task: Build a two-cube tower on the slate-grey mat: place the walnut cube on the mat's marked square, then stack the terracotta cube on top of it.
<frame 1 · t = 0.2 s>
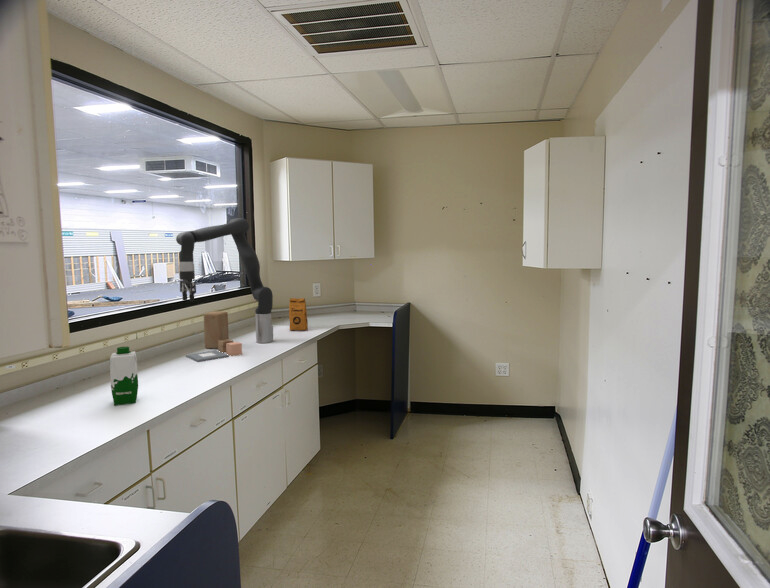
hand: (188, 300, 259), 28 cm above the worktop, tool pointing down, fingers open, 8 cm apart
milk carton: (125, 402, 181), on the worktop
slate mat: (207, 356, 253), on the worktop
terracotta cube: (234, 354, 259), on the worktop
wooden block: (217, 347, 277), on the worktop
walnut cube: (226, 351, 266), on the worktop
coffee package: (298, 330, 331), on the worktop
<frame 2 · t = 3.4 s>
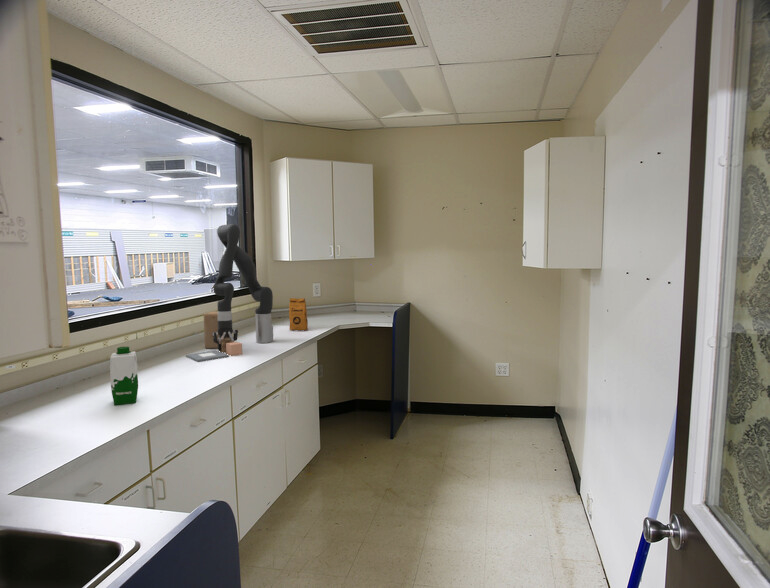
hand: (225, 349, 266), 1 cm above the worktop, tool pointing down, fingers closed on walnut cube, 6 cm apart
walnut cube: (226, 351, 266), on the worktop, touching gripper
everything else where it was.
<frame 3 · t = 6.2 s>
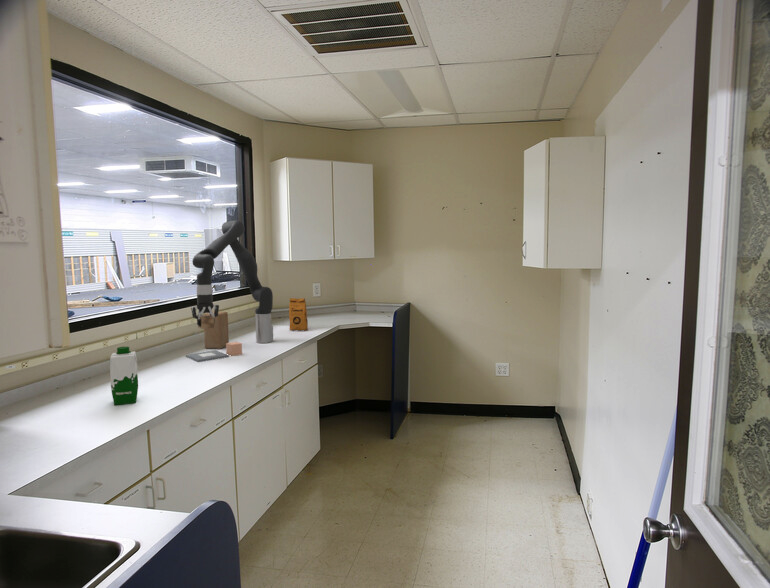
hand: (205, 325, 252), 16 cm above the worktop, tool pointing down, fingers closed on walnut cube, 6 cm apart
walnut cube: (206, 327, 252), point 15 cm above the worktop, touching gripper
everything else where it was.
when the fingers open (3 cm above the worktop, at t = 9.0 s): walnut cube stays where it is, resting on slate mat.
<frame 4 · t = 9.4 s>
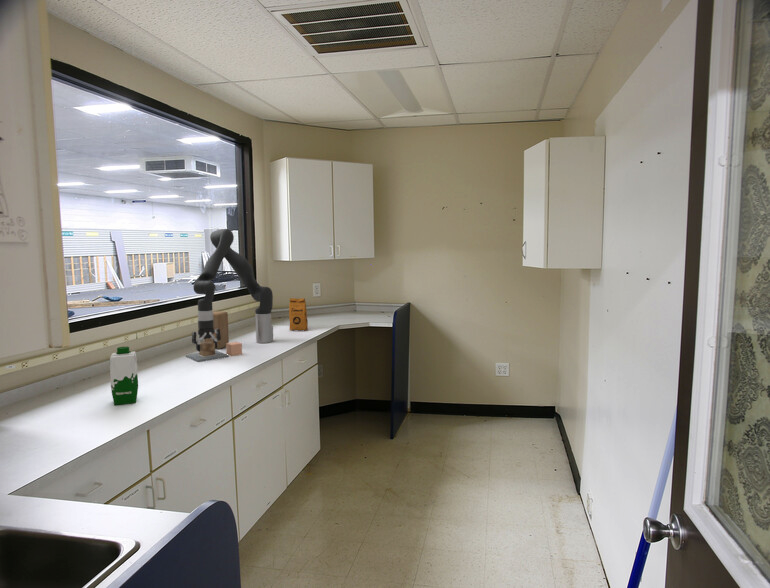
hand: (206, 349, 253), 4 cm above the worktop, tool pointing down, fingers open, 8 cm apart
walnut cube: (207, 354, 253), point 1 cm above the worktop, touching slate mat
everything else where it was.
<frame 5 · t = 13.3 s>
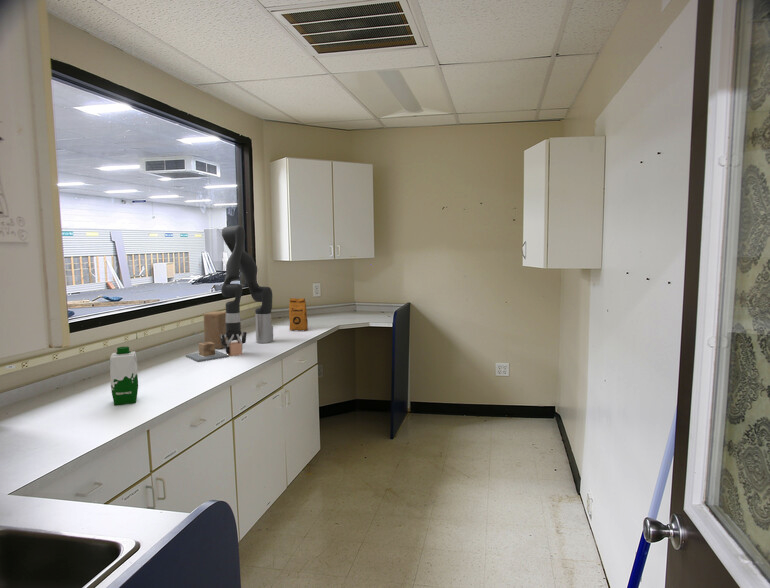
hand: (234, 352, 259), 1 cm above the worktop, tool pointing down, fingers closed on terracotta cube, 6 cm apart
terracotta cube: (234, 354, 259), on the worktop, touching gripper
everything else where it was.
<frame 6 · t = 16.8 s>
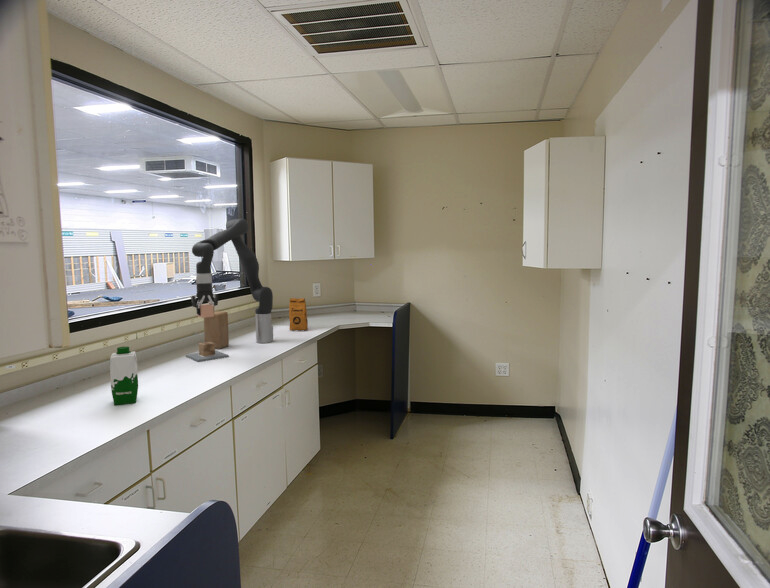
hand: (205, 314, 251), 22 cm above the worktop, tool pointing down, fingers closed on terracotta cube, 6 cm apart
terracotta cube: (205, 316, 251), point 21 cm above the worktop, touching gripper
everything else where it was.
when the fingers open (9 cm above the worktop, at t = 20.2 s): terracotta cube stays where it is, resting on walnut cube.
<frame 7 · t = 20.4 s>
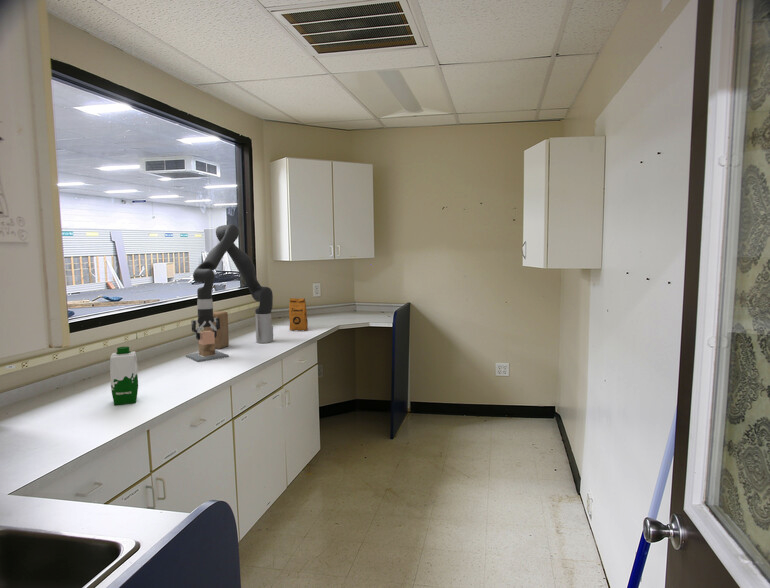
hand: (206, 338, 252), 10 cm above the worktop, tool pointing down, fingers open, 8 cm apart
terracotta cube: (206, 343, 253), point 7 cm above the worktop, touching walnut cube
walnut cube: (207, 354, 253), point 1 cm above the worktop, touching slate mat, terracotta cube
everything else where it was.
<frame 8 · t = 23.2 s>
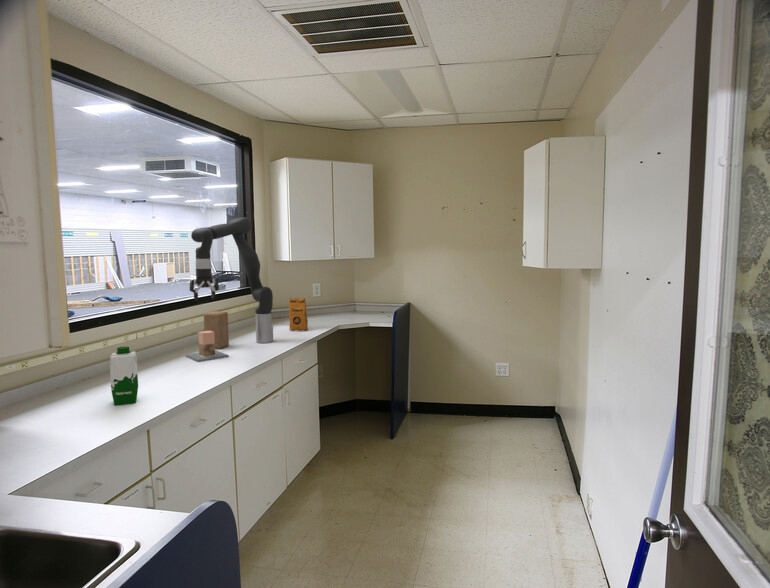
hand: (204, 299, 250), 30 cm above the worktop, tool pointing down, fingers open, 8 cm apart
nothing on the worktop moved.
at the end: walnut cube inside the target area on the slate mat (0.0 cm from its centre), point 1.1 cm above the slate mat's base; terracotta cube 0.0 cm off-centre on the walnut cube, point 6.0 cm above the walnut cube's base; terracotta cube tilted 0° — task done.
